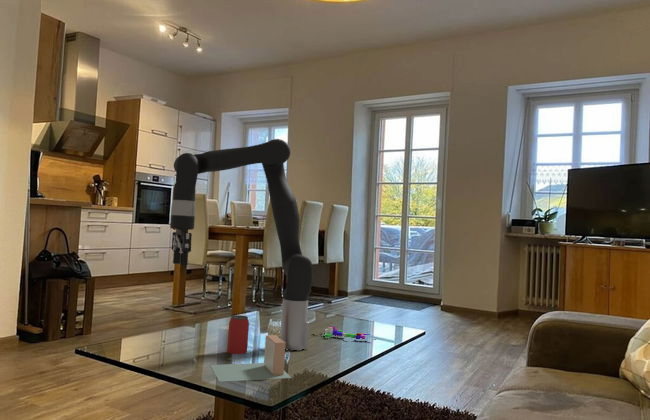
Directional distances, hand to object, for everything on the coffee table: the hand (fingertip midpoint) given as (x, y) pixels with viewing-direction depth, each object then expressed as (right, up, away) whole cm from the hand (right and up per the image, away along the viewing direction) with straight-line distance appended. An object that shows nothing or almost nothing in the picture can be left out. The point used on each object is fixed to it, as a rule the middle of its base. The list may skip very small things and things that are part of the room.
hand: (179, 264), depth 153 cm
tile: (+32, -29, -16) cm, 46 cm away
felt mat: (+26, -29, -19) cm, 43 cm away
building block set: (+56, -36, +42) cm, 78 cm away
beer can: (+18, -30, +3) cm, 35 cm away
